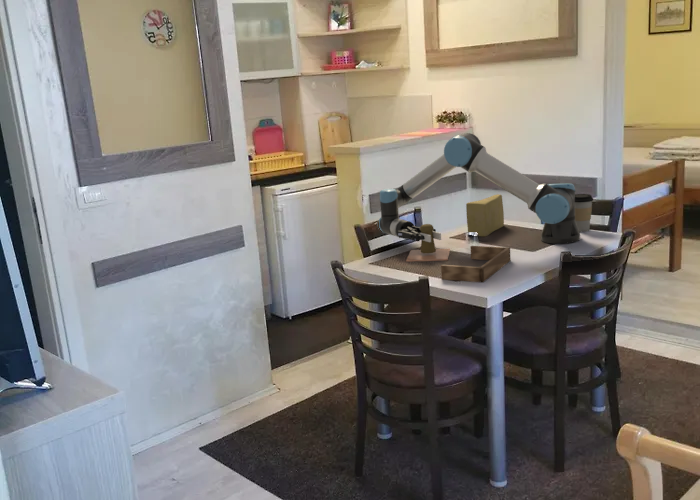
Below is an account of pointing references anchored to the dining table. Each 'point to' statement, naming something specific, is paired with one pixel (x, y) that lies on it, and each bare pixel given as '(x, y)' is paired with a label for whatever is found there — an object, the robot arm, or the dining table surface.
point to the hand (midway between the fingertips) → (435, 237)
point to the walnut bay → (478, 274)
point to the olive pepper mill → (426, 246)
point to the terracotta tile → (428, 255)
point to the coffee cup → (583, 211)
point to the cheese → (485, 215)
